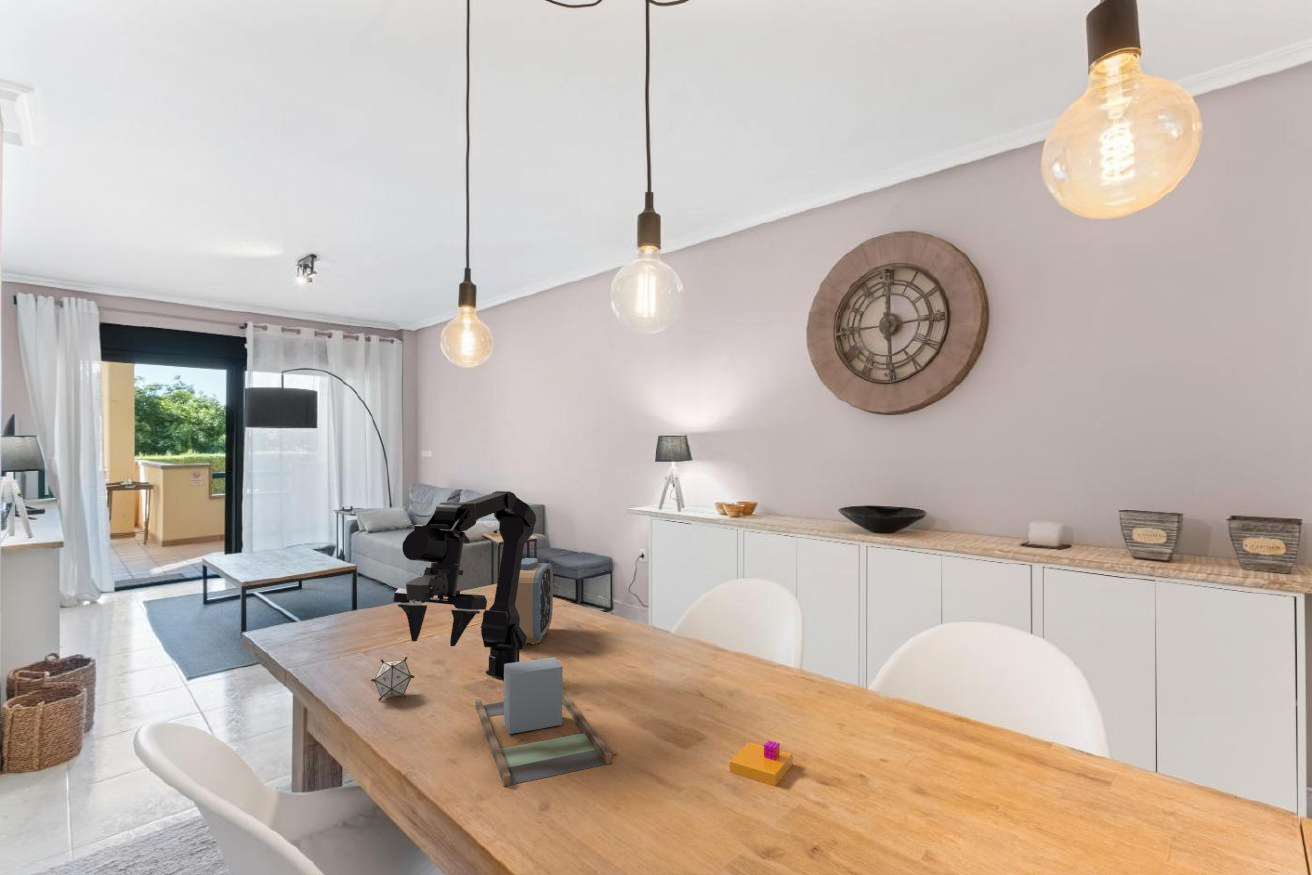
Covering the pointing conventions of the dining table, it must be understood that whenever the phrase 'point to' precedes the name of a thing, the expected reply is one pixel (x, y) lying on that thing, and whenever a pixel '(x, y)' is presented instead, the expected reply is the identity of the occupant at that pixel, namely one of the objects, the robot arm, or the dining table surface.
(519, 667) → the slate block
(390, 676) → the game die
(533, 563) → the alarm clock
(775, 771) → the flat orange slab
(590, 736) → the channel
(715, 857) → the dining table surface
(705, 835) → the dining table surface
